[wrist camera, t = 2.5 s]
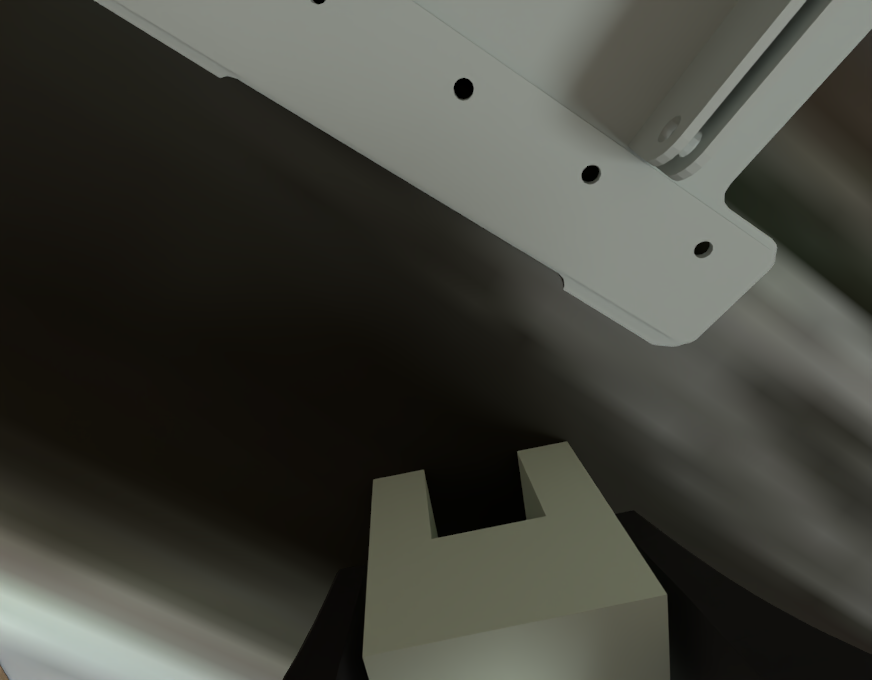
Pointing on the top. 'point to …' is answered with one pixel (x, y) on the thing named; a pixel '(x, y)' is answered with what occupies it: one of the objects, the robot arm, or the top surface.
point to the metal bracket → (551, 119)
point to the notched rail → (2, 675)
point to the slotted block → (512, 586)
